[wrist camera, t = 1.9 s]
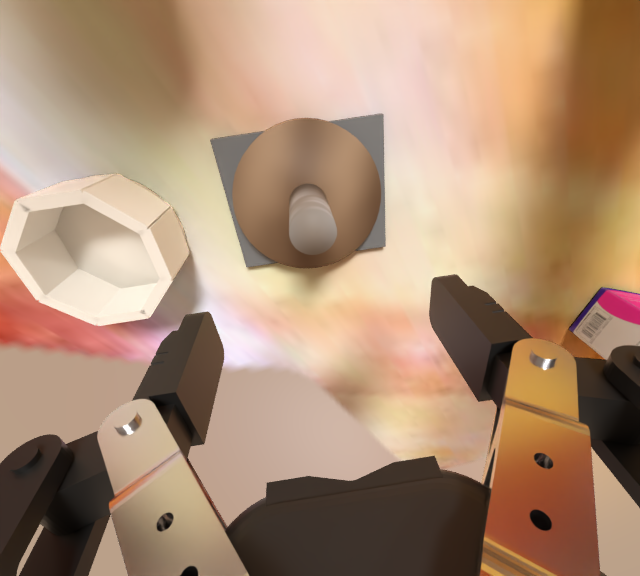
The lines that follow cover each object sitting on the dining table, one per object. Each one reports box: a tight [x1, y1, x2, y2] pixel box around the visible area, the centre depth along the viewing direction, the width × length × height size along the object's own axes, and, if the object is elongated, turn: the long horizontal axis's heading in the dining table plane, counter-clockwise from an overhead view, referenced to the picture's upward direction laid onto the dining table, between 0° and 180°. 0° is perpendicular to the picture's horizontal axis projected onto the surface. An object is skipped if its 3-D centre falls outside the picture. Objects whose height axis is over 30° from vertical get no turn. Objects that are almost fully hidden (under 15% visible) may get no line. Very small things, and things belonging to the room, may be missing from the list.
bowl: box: [0, 173, 189, 326], centre depth 23 cm, size 10×10×5 cm
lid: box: [232, 118, 381, 268], centre depth 21 cm, size 11×11×7 cm
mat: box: [210, 114, 385, 267], centre depth 25 cm, size 12×10×1 cm
